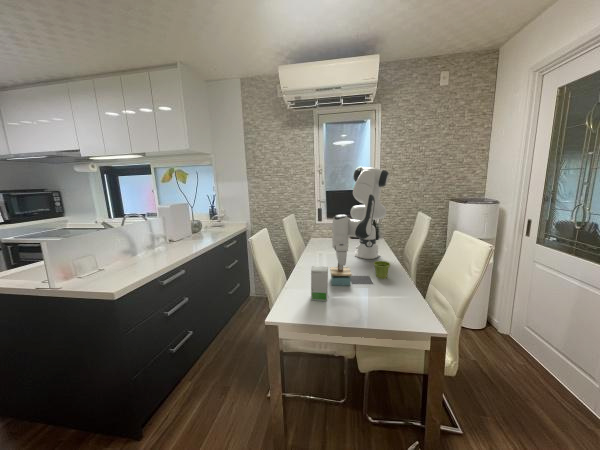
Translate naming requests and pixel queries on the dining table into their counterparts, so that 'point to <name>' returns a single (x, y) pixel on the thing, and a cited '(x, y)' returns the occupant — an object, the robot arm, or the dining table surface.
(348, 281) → the teal open box
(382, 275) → the plant pot
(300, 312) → the dining table surface
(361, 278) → the mat
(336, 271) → the lid
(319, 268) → the skincare box
